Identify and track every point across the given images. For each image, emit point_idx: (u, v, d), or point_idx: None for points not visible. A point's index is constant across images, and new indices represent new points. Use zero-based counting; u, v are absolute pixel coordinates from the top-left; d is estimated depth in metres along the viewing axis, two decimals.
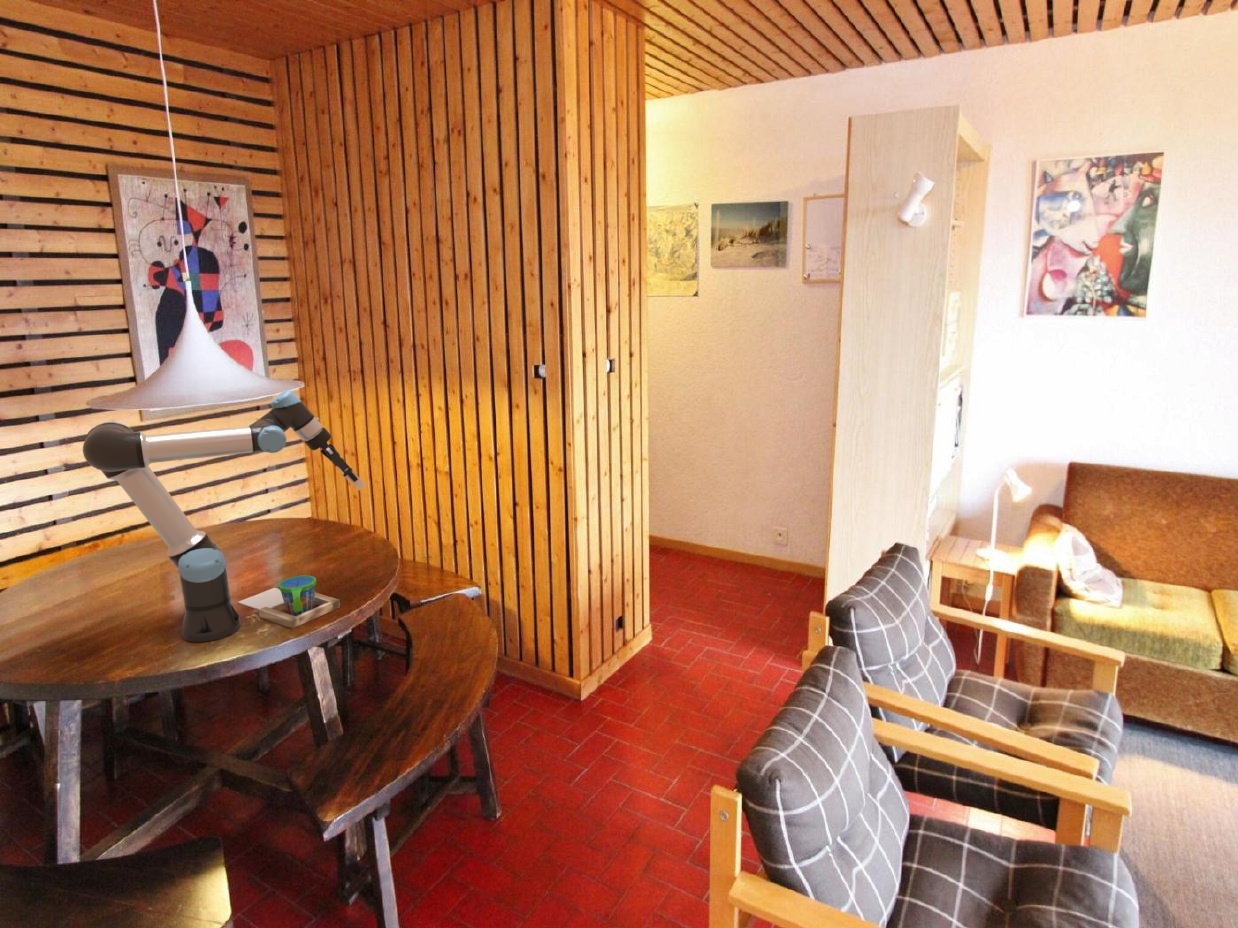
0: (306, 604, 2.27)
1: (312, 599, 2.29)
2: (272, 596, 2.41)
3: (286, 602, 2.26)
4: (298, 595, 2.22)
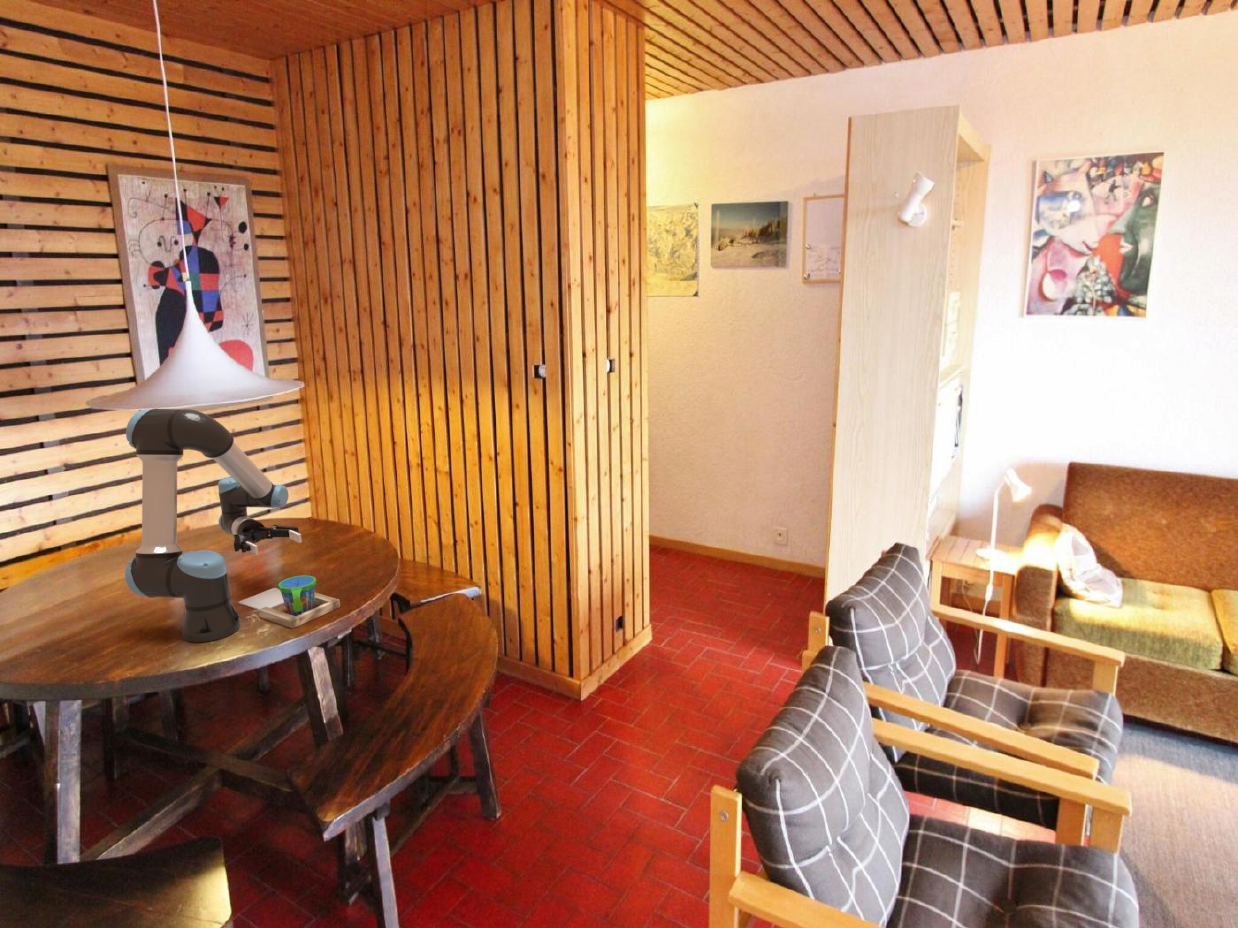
0: (306, 604, 2.27)
1: (312, 599, 2.29)
2: (272, 596, 2.41)
3: (286, 602, 2.26)
4: (298, 595, 2.22)
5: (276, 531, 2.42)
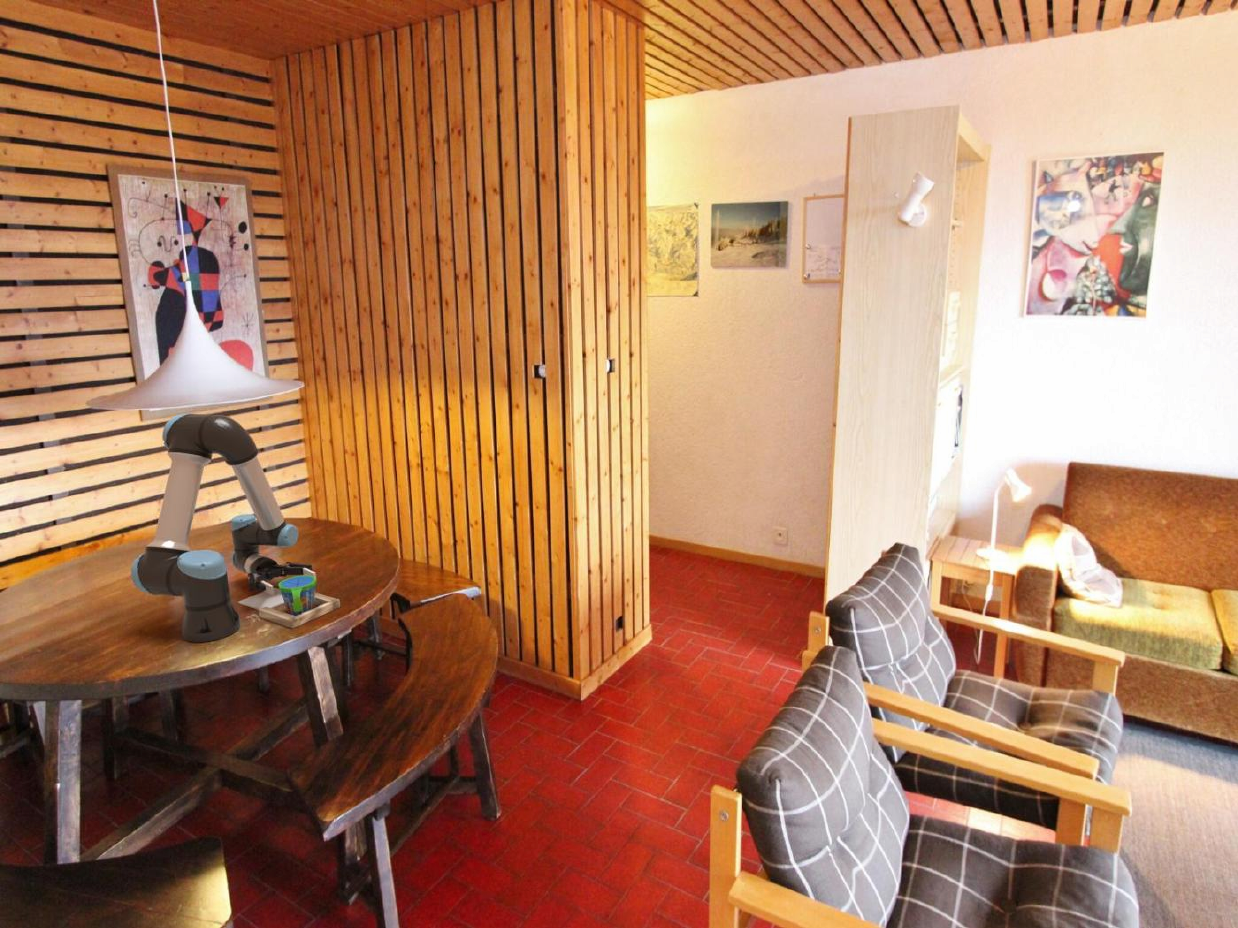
0: (306, 604, 2.27)
1: (312, 599, 2.29)
2: (272, 596, 2.41)
3: (286, 602, 2.26)
4: (298, 595, 2.22)
5: (290, 569, 2.42)
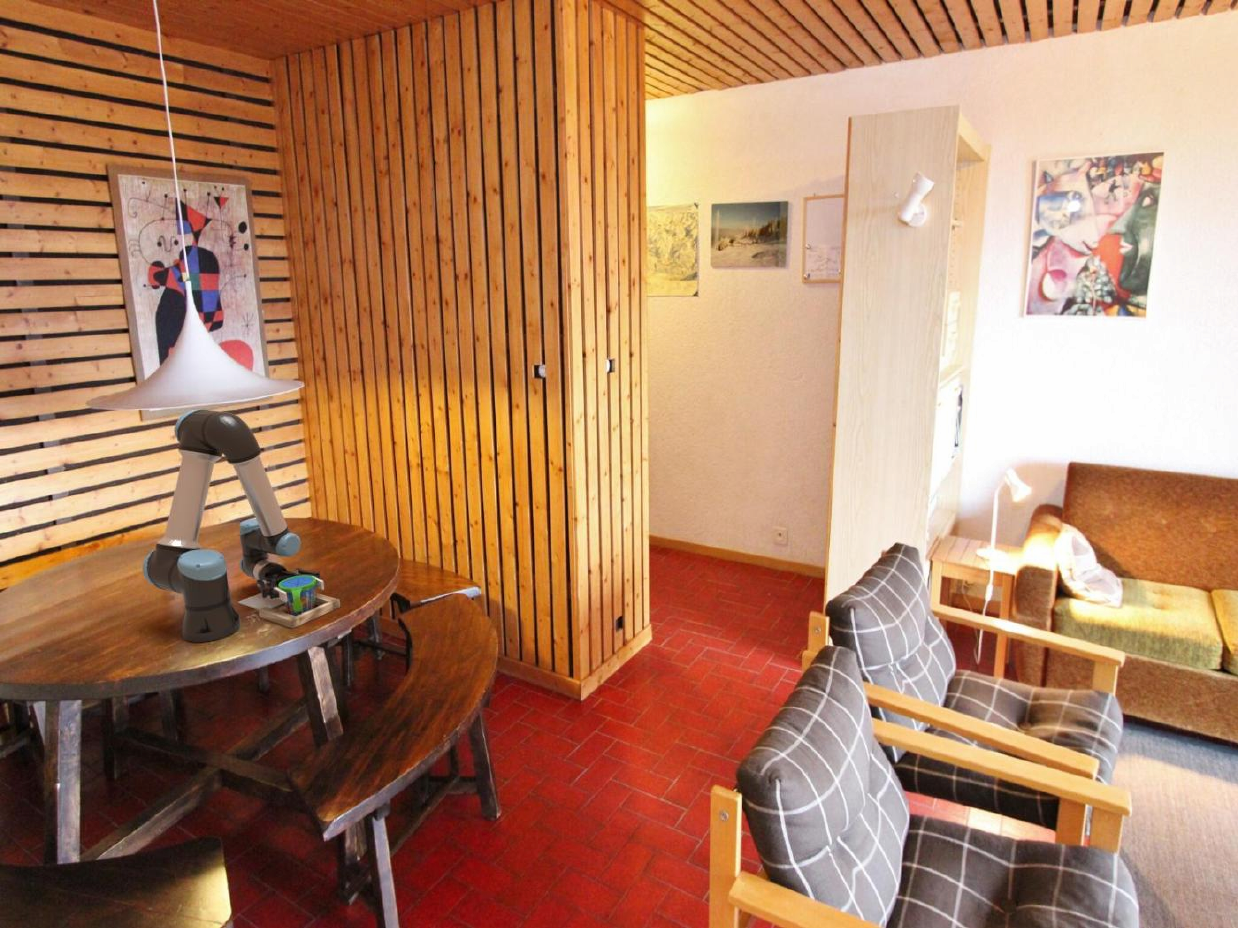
0: (306, 604, 2.27)
1: (312, 599, 2.29)
2: None
3: (286, 602, 2.26)
4: (298, 595, 2.22)
5: None
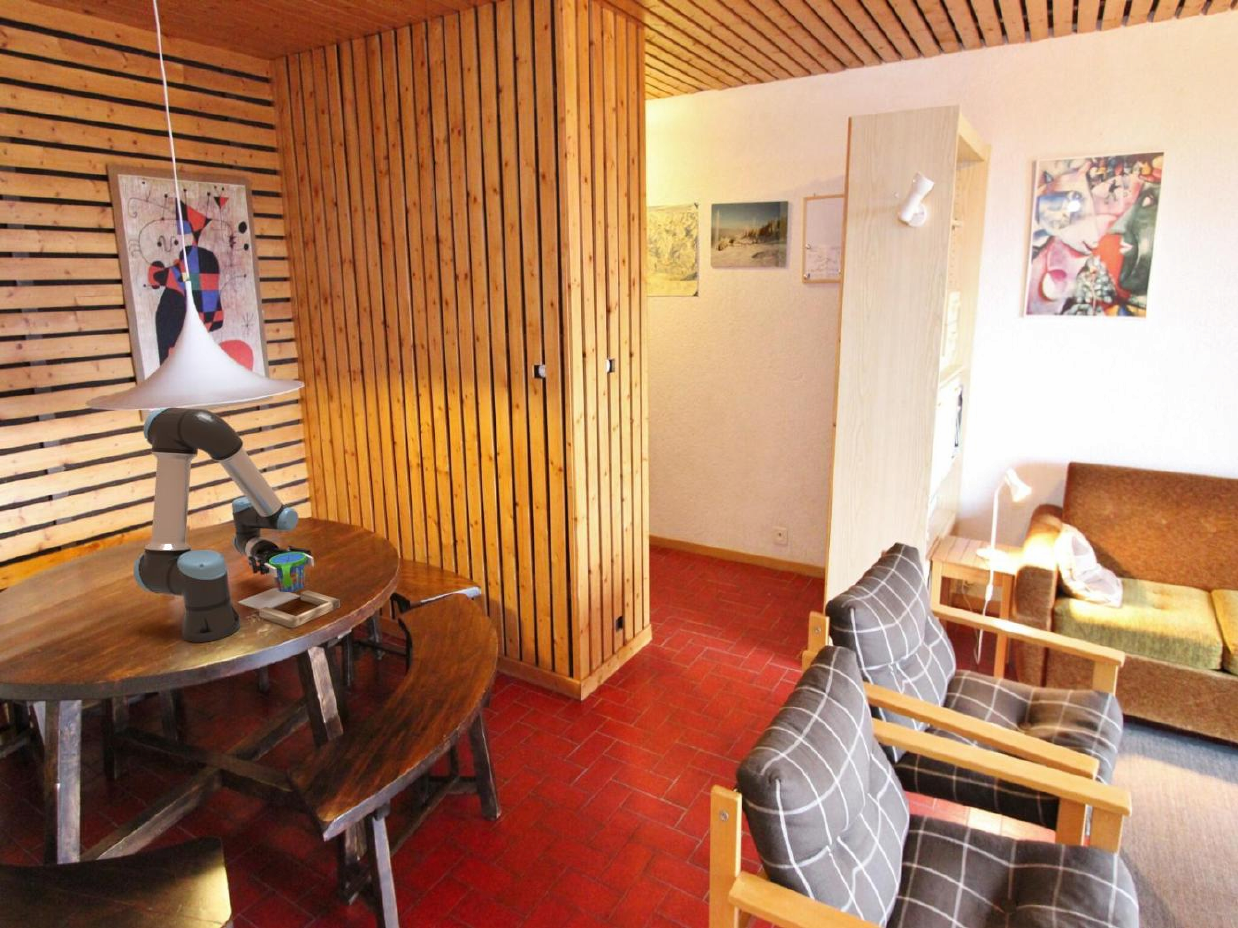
0: (296, 580, 2.29)
1: (302, 575, 2.31)
2: (272, 596, 2.41)
3: (276, 578, 2.28)
4: (288, 571, 2.25)
5: None
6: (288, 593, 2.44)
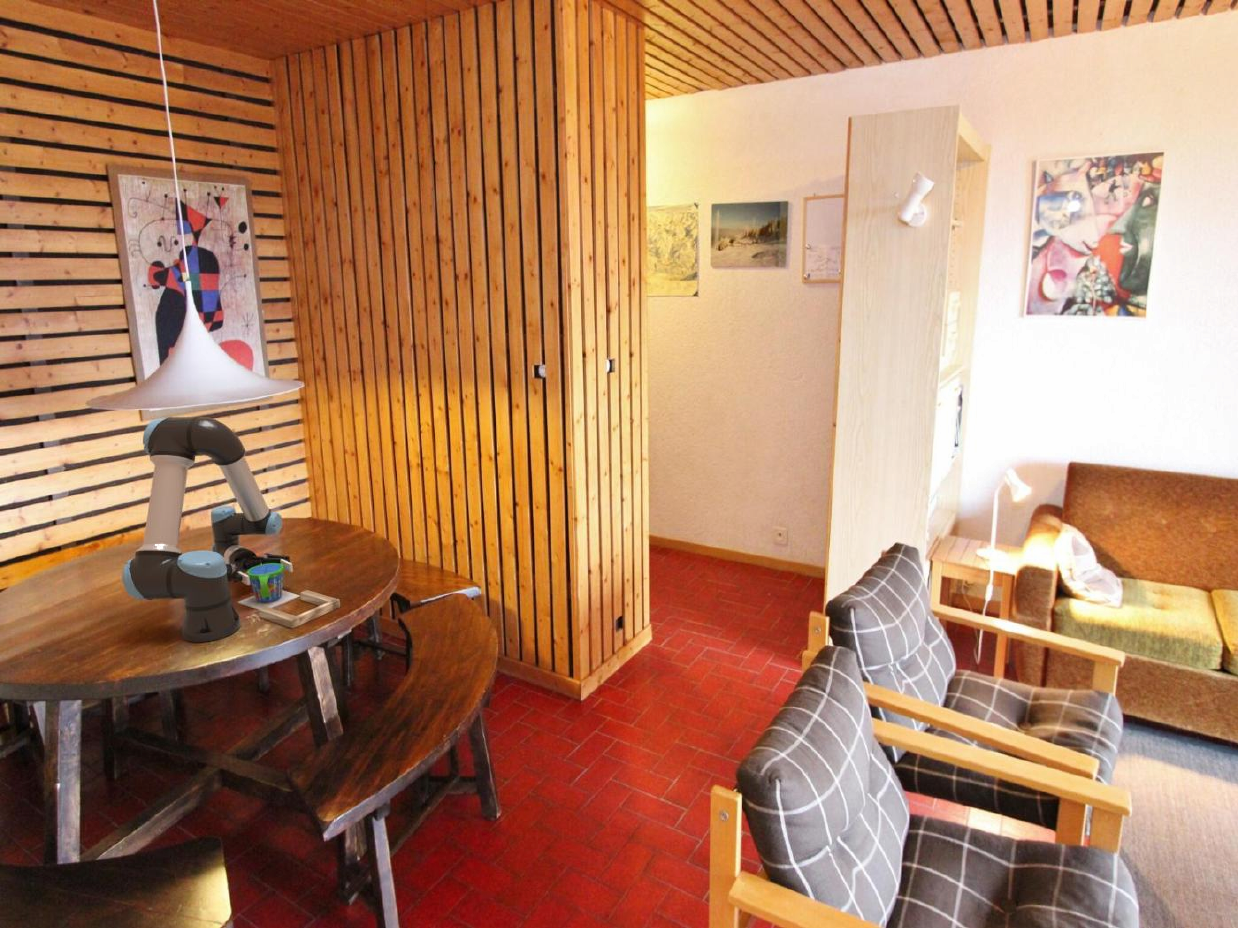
0: (273, 590, 2.36)
1: (280, 586, 2.38)
2: None
3: (254, 588, 2.35)
4: (265, 581, 2.32)
5: (267, 560, 2.45)
6: (288, 593, 2.44)
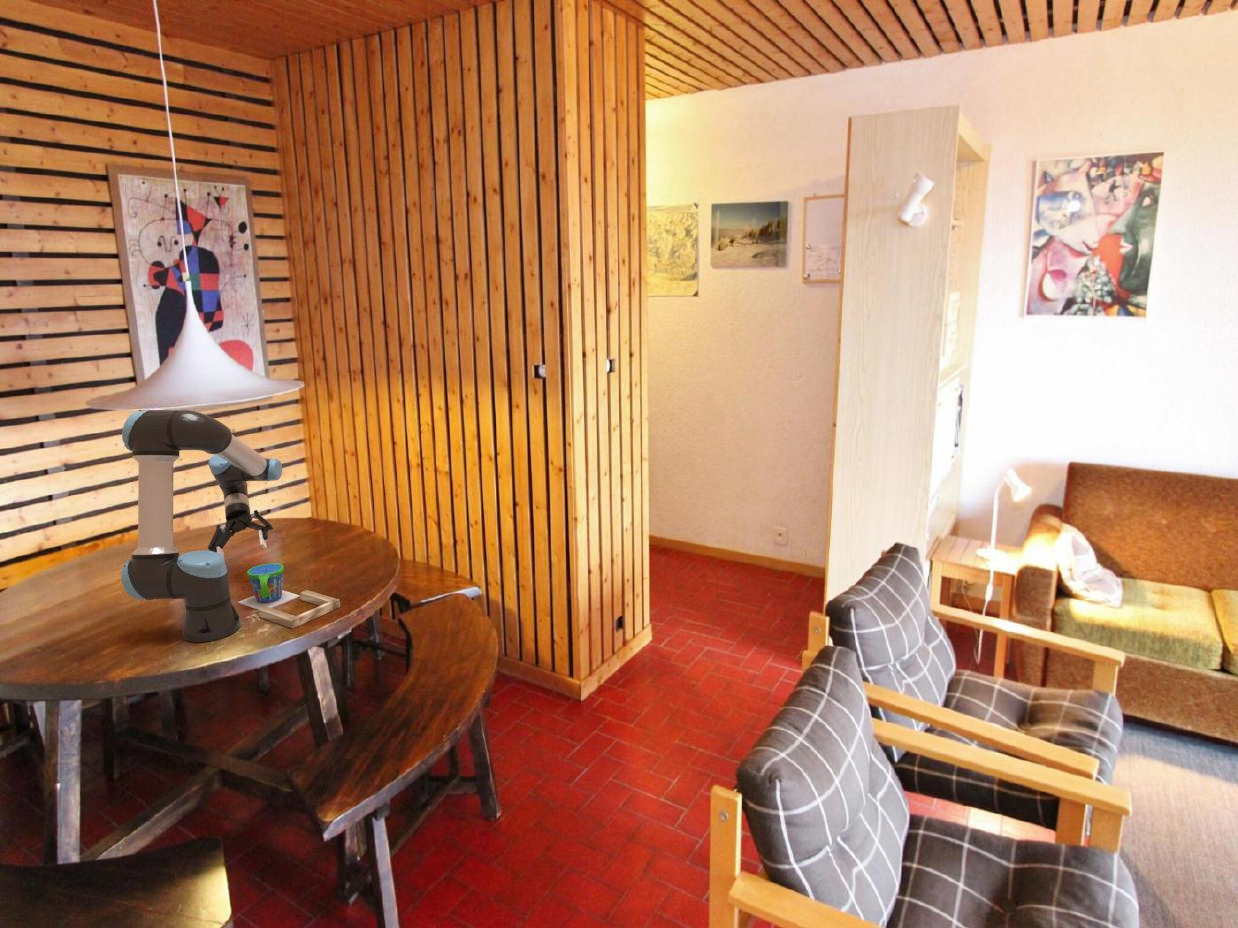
0: (273, 590, 2.36)
1: (280, 586, 2.38)
2: None
3: (254, 588, 2.35)
4: (265, 581, 2.32)
5: (251, 525, 2.48)
6: (288, 593, 2.44)
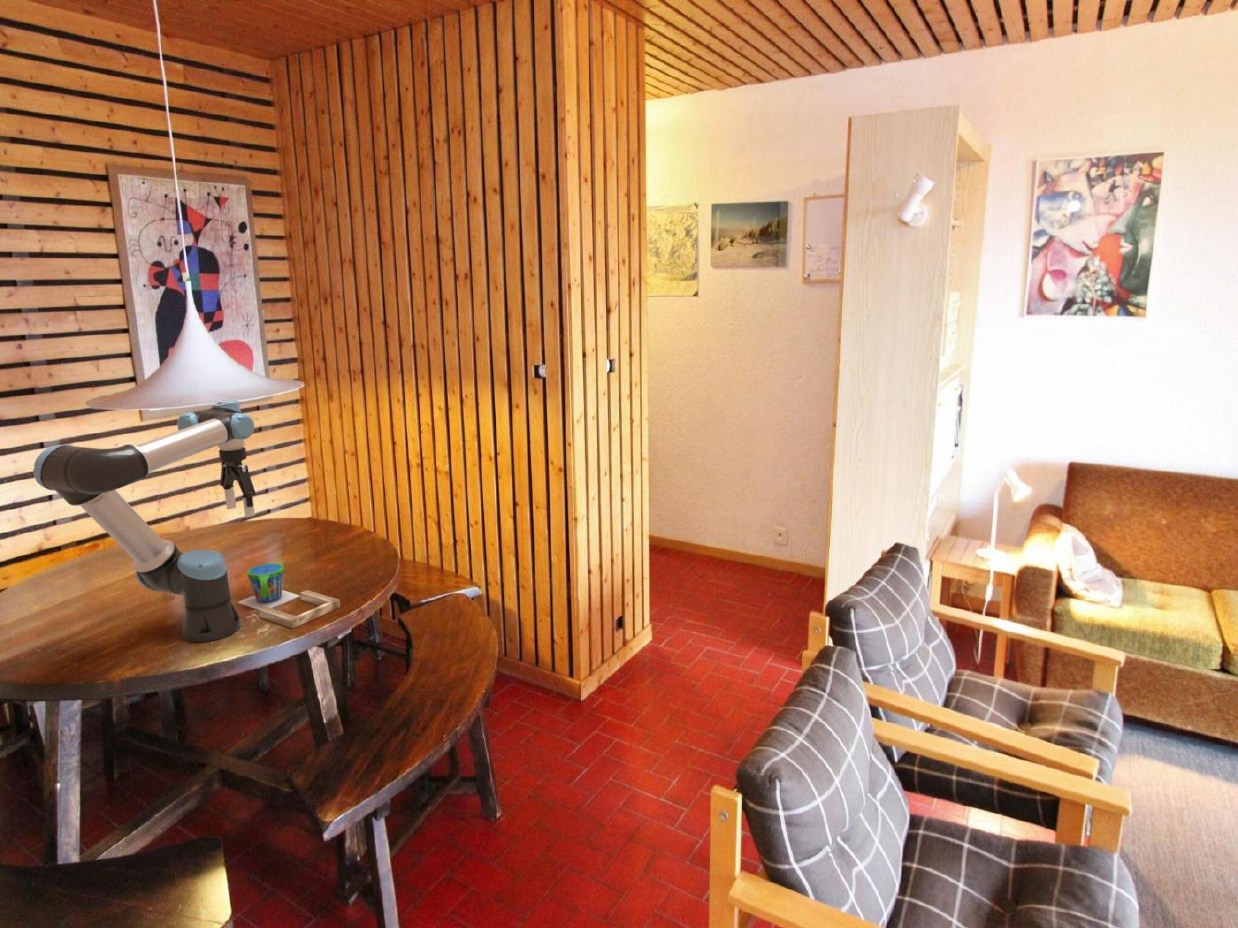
0: (273, 590, 2.36)
1: (280, 586, 2.38)
2: None
3: (254, 588, 2.35)
4: (265, 581, 2.32)
5: None
6: (288, 593, 2.44)
